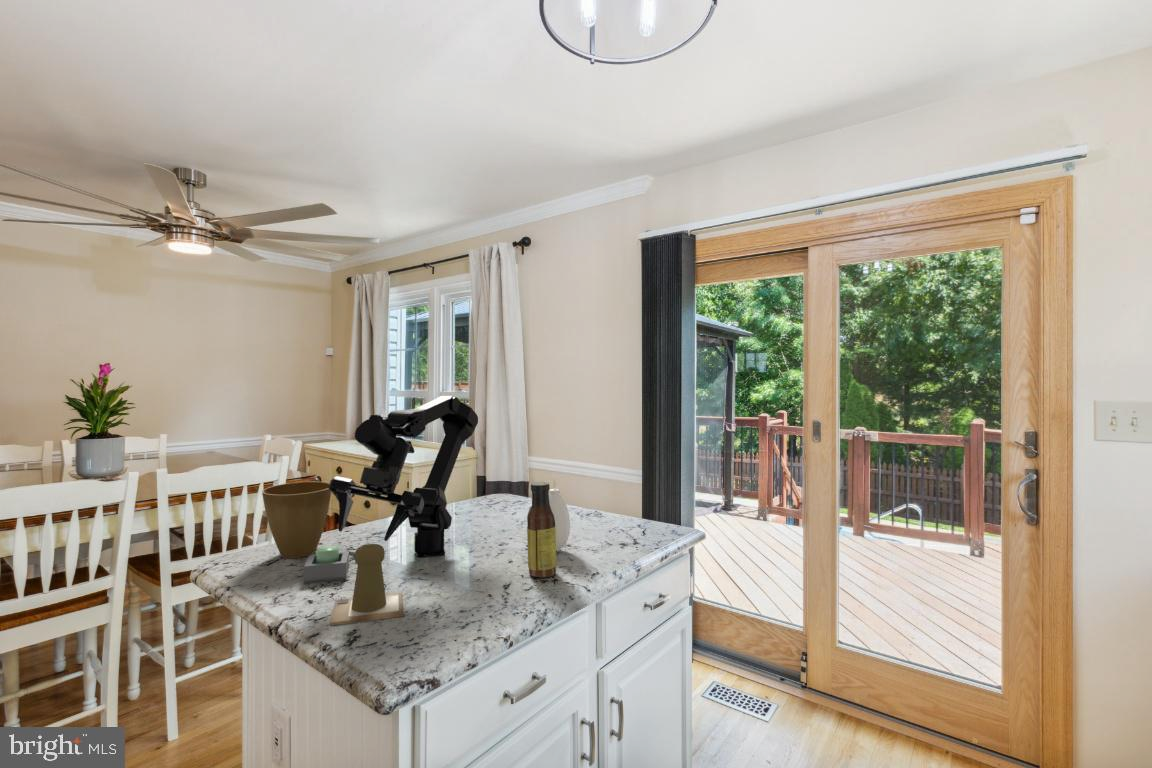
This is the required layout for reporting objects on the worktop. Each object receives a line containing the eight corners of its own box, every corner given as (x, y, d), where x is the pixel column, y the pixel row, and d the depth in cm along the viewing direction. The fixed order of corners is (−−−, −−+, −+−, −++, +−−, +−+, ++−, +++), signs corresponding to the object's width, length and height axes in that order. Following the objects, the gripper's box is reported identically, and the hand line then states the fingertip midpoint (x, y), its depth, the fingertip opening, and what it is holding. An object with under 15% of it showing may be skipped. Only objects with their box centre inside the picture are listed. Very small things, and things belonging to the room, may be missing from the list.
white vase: (551, 558, 127) (552, 483, 127) (531, 550, 133) (532, 478, 133) (575, 552, 132) (576, 479, 132) (555, 544, 138) (556, 474, 138)
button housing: (349, 566, 120) (349, 551, 120) (346, 579, 113) (346, 562, 113) (309, 570, 118) (309, 554, 117) (303, 583, 110) (304, 566, 110)
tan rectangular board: (402, 594, 105) (402, 591, 105) (403, 616, 95) (403, 612, 95) (335, 602, 101) (335, 599, 101) (329, 625, 91) (329, 621, 91)
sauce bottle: (560, 571, 119) (561, 481, 119) (550, 580, 113) (551, 487, 113) (533, 567, 121) (534, 479, 121) (521, 576, 115) (522, 484, 115)
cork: (383, 611, 96) (384, 549, 96) (347, 613, 95) (348, 551, 95) (388, 597, 102) (389, 540, 102) (355, 599, 101) (355, 541, 101)
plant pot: (284, 543, 136) (285, 480, 136) (342, 544, 136) (343, 481, 135) (247, 563, 121) (247, 493, 121) (311, 565, 121) (312, 494, 121)
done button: (339, 558, 118) (339, 545, 118) (337, 565, 114) (338, 551, 114) (317, 560, 116) (317, 547, 116) (314, 567, 112) (315, 553, 112)
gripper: (337, 440, 108) (304, 515, 100) (428, 459, 109) (402, 536, 101) (349, 459, 118) (320, 529, 110) (433, 477, 118) (410, 548, 110)
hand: (362, 535), depth 107 cm, fingers open, 9 cm apart
